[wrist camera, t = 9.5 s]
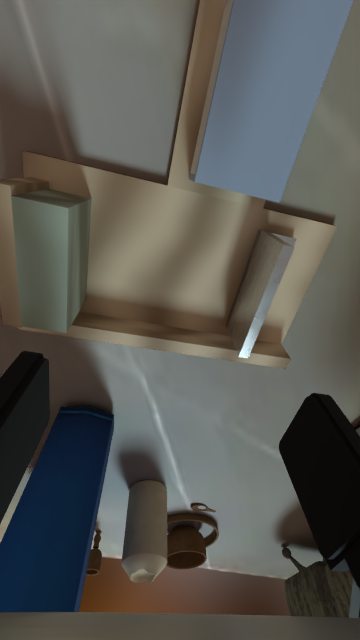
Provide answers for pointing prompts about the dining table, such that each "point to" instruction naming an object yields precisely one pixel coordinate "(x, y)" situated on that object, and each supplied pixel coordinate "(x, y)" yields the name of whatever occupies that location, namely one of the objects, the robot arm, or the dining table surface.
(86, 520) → the blue volume
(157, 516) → the candle
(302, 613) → the tabletop clock
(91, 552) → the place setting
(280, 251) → the bookend
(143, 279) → the wooden platform
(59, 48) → the dining table surface
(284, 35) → the blue-grey rectangular block
